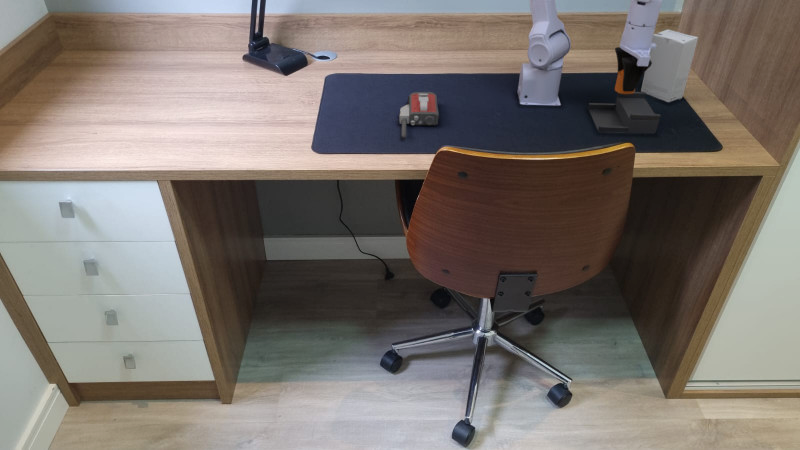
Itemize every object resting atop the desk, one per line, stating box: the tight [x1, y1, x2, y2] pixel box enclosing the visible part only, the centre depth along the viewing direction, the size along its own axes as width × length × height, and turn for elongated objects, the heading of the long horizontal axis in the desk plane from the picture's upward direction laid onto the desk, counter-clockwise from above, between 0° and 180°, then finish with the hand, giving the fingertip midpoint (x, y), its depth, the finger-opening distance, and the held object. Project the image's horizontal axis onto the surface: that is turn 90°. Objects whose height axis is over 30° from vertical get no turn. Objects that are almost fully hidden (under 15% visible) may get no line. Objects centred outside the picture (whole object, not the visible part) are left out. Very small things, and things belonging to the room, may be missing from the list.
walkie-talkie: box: [398, 91, 440, 139], centre depth 126 cm, size 9×4×20 cm
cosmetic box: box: [640, 29, 699, 103], centre depth 133 cm, size 8×6×15 cm
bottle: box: [614, 69, 636, 94], centre depth 120 cm, size 4×4×6 cm
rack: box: [587, 91, 661, 135], centre depth 125 cm, size 12×12×5 cm
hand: (625, 86), depth 121 cm, fingers closed on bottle, 4 cm apart
